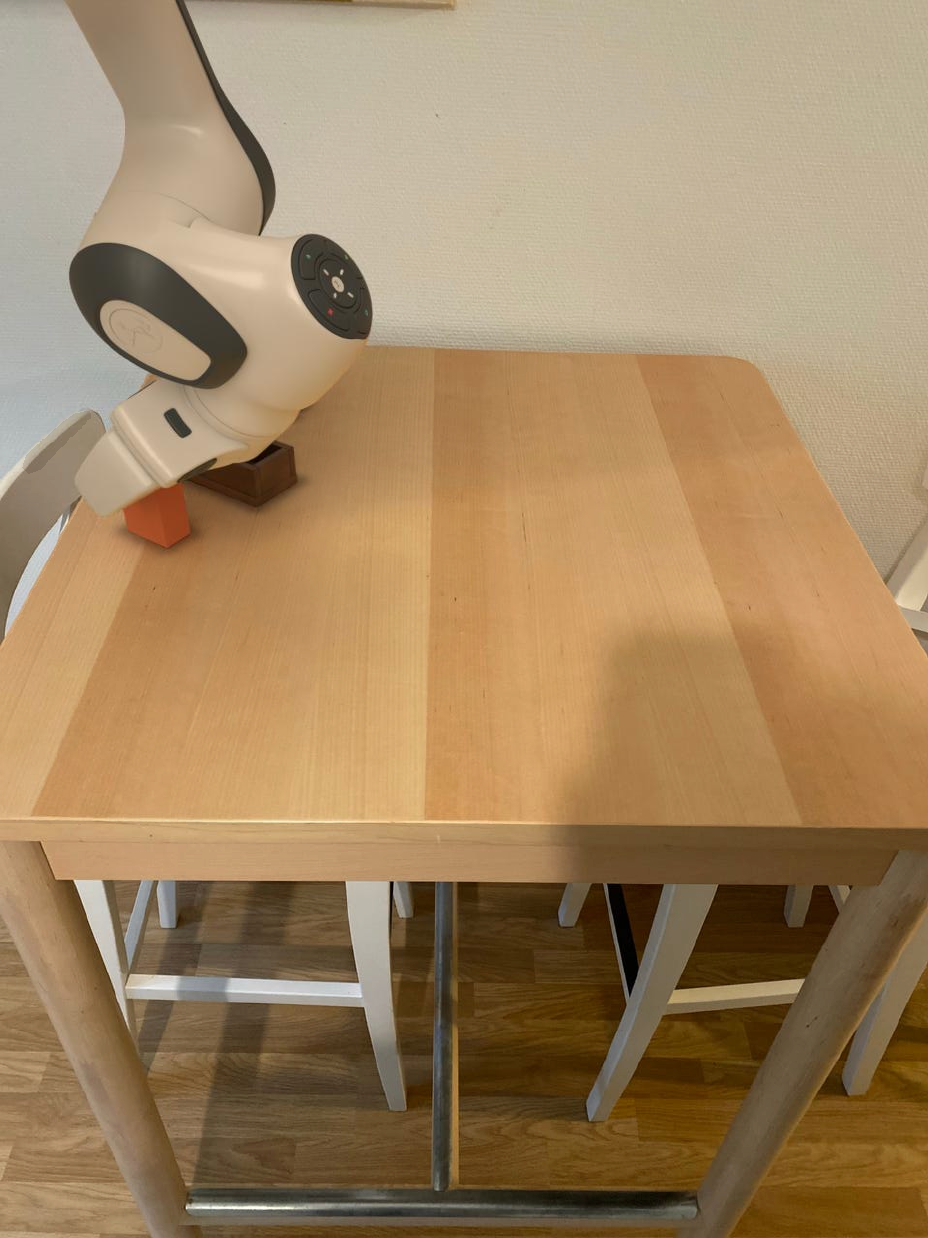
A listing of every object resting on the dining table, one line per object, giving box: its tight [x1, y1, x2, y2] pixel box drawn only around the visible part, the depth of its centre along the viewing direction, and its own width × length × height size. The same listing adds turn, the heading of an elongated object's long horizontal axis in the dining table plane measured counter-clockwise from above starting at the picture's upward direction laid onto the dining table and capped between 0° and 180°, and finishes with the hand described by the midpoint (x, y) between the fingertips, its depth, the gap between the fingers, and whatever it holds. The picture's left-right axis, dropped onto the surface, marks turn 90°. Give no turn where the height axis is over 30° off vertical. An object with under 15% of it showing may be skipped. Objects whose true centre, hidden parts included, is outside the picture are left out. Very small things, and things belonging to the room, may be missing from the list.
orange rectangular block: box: [122, 482, 191, 549], centre depth 80 cm, size 3×5×9 cm, turn 58°
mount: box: [187, 439, 298, 508], centre depth 88 cm, size 6×12×10 cm, turn 58°
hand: (158, 475), depth 79 cm, fingers open, 8 cm apart
